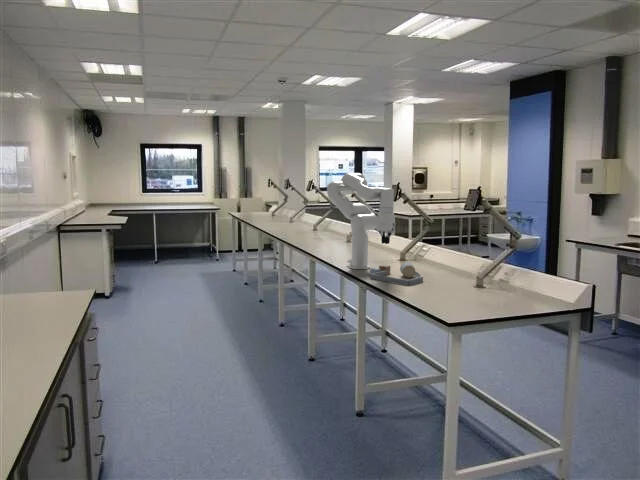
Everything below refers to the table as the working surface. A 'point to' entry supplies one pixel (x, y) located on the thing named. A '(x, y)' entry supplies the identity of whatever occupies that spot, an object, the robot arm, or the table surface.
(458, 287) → the table surface
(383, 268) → the walnut block
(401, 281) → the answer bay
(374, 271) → the slate block
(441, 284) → the table surface
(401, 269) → the ceramic mug
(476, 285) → the table surface
